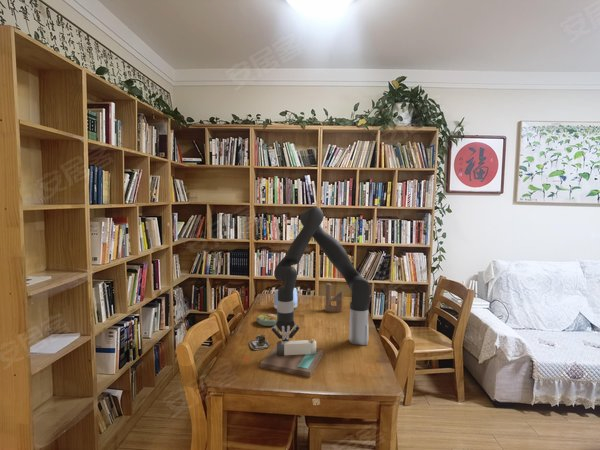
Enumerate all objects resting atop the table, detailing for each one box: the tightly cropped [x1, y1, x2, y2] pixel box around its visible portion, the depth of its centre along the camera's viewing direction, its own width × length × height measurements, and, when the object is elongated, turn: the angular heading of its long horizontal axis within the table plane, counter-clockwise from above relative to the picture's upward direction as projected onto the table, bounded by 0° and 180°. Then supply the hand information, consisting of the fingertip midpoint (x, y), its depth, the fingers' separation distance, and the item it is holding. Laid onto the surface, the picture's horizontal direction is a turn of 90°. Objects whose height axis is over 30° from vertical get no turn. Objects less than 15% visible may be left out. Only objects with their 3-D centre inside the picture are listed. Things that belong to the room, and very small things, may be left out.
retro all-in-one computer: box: [273, 287, 299, 310], centre depth 205 cm, size 21×19×14 cm
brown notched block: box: [324, 282, 343, 313], centre depth 203 cm, size 4×11×18 cm, turn 81°
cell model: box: [256, 313, 277, 327], centre depth 179 cm, size 11×8×15 cm
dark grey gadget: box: [249, 334, 270, 351], centre depth 153 cm, size 12×6×11 cm
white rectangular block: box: [276, 338, 317, 356], centre depth 139 cm, size 18×4×6 cm, turn 97°
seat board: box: [259, 345, 324, 378], centre depth 137 cm, size 22×20×2 cm
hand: (285, 346), depth 142 cm, fingers closed
